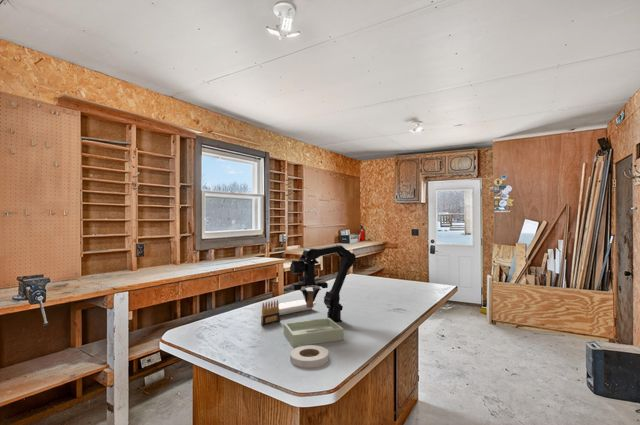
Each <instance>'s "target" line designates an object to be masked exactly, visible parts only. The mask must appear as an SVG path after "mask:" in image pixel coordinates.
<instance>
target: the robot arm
mask: <svg viewBox="0 0 640 425" xmlns="http://www.w3.org/2000/svg"><path fill="white" fill-rule="evenodd" d="M334 254H337V255H338V257H339V258H340V260H339V261H340V266H339V270H338V272H337V275H336V277H335V279H334V281H333V284H332V286H331V289H330V290H329V291H326V292H325V295H324V297H323V303H324V305H325V307H326V308H327V309H328V310H327V312H326V313H327V314H326V315H327V318H330V319H331V320H333V321H334V322H335V323H339V322H343V320H342V317H341V316H342V314H341V311H343V307H344V306H343V305H342V304H341V303H340V300H341V296H340V295H341V294H340V293H341V290H342V287H343V285H344V283H345V279H346V277H347V275H348V272H349V270H350V268H352V267H353V265H354V263H355V262H356V259H357V257H356V254H355V253H353V252H351V251H350V250H348V249H347V248H346V247H344V246H343V245H341V244H340V245H339V244H336V245H331V246H327V247H320V248H307V247H306V248H305V249H304V250H303V252H302V254H301V256H300V257H299V259H298V260H291V264H290V266H289V270H290V274H292V275H296V274H303V275H298V276H297V279H298V282H293V283H291V289H292V290H293V291H300V292H301V293H302V295H303V298H304V299H305V302H307V291H308V290H307V289H308V288H312V291H313V302H315V300H316V298H317V295H318V293H319V291H321V290H322V289H328V286H329V284H328V282H326V281H324V280H321V281H320V280H319V281H317V282H316V277H317V274H316V265H317V264H319V263H320V262H319V261H318V260H317V259H319V258H320V257H322V256H328V255H334ZM306 288H307V289H306ZM321 288H322V289H321Z"/></svg>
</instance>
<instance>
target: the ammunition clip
mask: <svg viewBox="0 0 640 425" xmlns="http://www.w3.org/2000/svg"><path fill="white" fill-rule="evenodd" d="M278 304H279V301H278V299H276V300H271V302H270V301H268V302H267V301H265V303H264V302H262V306H261V307H262V308H261V318H260V319H261V322H260V325H261V326H263V327H264V326H269V325H273V324H276V323H277V324H278V323H279V322H280V321H281V320H280V316H281V315H280V316H279V305H278ZM270 305H271V308H270ZM273 305H274V306H273ZM267 306H268V308H267Z"/></svg>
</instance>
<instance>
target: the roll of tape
mask: <svg viewBox="0 0 640 425" xmlns="http://www.w3.org/2000/svg"><path fill="white" fill-rule="evenodd" d="M329 354H330V353H329V350H328V349H327V348H326V347H323V346H321V345H316V344H310V345H303V346H296V347H294V349H292V350H291V351H290V353H289V361H290V363H292V364H293V365H294V366H296V367H300V368H308V369H309V368H318V367H321V366H323V365H326V364H327V363H328V362H329Z"/></svg>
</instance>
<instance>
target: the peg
mask: <svg viewBox="0 0 640 425" xmlns="http://www.w3.org/2000/svg"><path fill="white" fill-rule="evenodd" d="M306 307H307V308H312V307H313V290H307V302H306ZM313 308H314V307H313ZM313 308H312V309H313Z"/></svg>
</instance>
